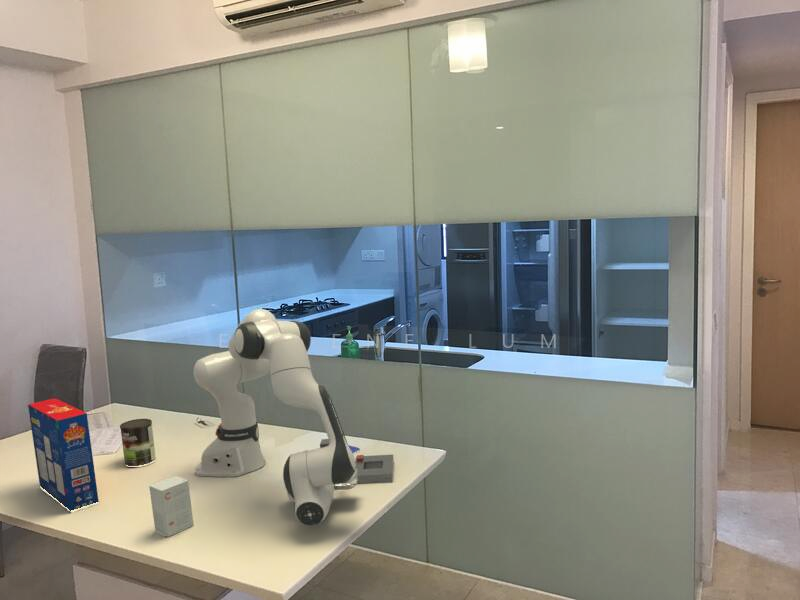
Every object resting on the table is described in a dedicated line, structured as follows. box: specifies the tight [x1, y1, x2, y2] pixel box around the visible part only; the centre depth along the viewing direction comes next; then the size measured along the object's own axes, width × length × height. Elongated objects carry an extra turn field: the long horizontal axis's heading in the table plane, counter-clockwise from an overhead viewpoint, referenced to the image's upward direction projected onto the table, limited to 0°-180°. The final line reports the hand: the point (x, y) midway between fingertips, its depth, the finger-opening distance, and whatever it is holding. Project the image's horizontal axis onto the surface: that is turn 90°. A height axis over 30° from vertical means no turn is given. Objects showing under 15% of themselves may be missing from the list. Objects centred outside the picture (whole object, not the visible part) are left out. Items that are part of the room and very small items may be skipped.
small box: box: [149, 475, 194, 538], centre depth 181 cm, size 8×6×13 cm
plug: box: [319, 438, 330, 448], centre depth 208 cm, size 4×4×12 cm
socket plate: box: [355, 454, 395, 485], centre depth 211 cm, size 12×16×3 cm
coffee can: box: [119, 418, 157, 466], centre depth 234 cm, size 10×10×14 cm
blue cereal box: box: [27, 398, 100, 511], centre depth 207 cm, size 28×8×28 cm, turn 44°
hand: (325, 468), depth 199 cm, fingers open, 8 cm apart
